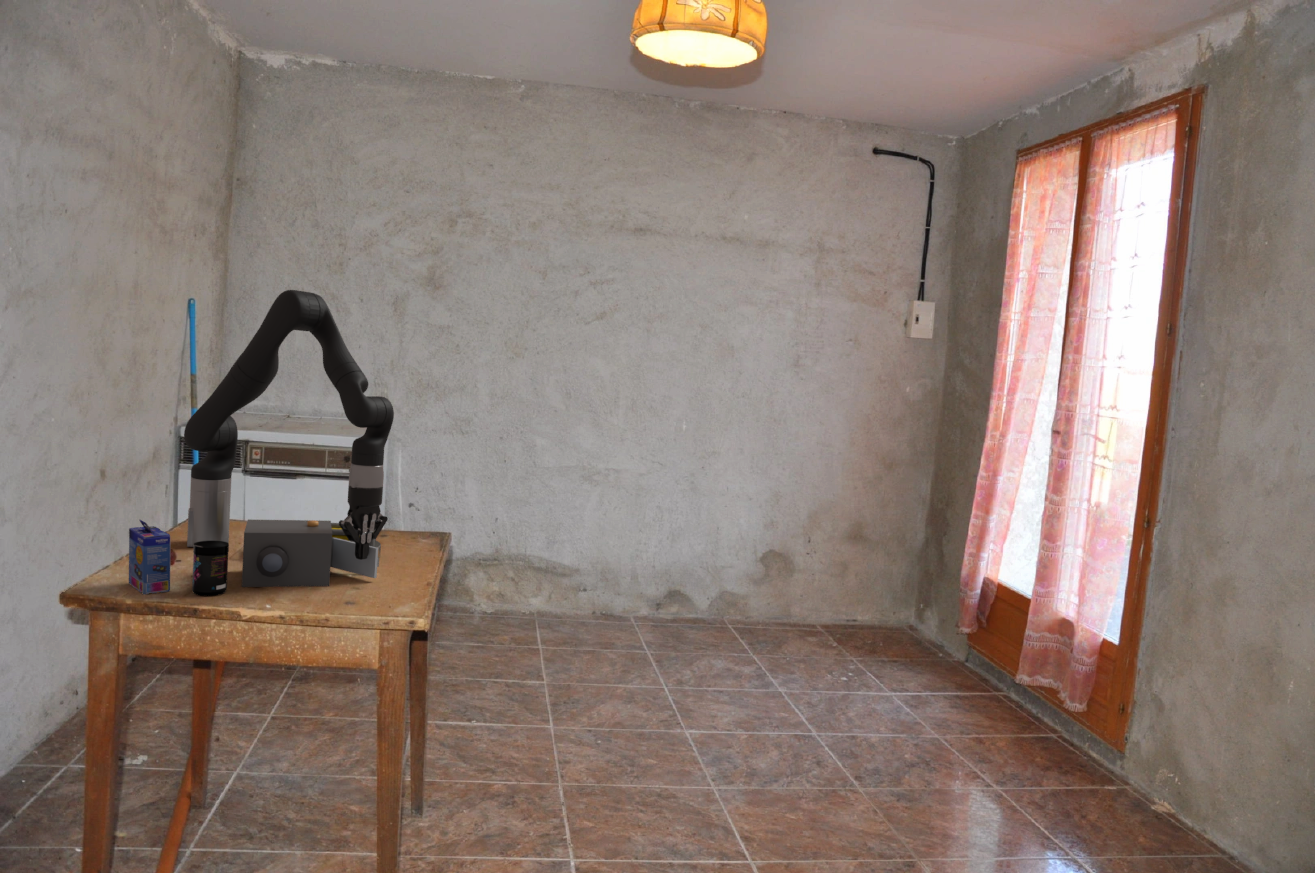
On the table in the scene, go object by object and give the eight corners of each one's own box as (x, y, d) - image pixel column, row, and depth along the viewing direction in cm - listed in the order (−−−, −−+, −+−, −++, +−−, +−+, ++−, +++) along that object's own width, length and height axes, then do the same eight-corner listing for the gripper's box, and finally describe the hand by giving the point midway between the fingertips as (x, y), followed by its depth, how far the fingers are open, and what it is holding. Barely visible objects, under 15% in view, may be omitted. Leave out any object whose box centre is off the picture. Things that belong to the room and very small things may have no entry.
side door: (374, 578, 217) (375, 548, 216) (329, 566, 224) (330, 537, 223) (378, 577, 218) (380, 547, 217) (333, 565, 225) (335, 536, 224)
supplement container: (207, 586, 203) (209, 538, 202) (234, 591, 201) (236, 543, 200) (184, 593, 196) (186, 544, 195) (211, 598, 195) (213, 549, 194)
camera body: (240, 590, 202) (243, 530, 201) (245, 570, 218) (247, 515, 216) (329, 589, 208) (332, 531, 207) (327, 570, 224) (330, 516, 223)
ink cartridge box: (126, 584, 200) (128, 516, 198) (154, 580, 204) (156, 514, 202) (142, 595, 193) (144, 525, 191) (170, 591, 197) (173, 523, 195)
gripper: (376, 479, 222) (371, 551, 223) (331, 483, 210) (326, 559, 212) (399, 484, 218) (394, 557, 220) (355, 488, 207) (350, 566, 208)
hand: (361, 558), depth 216 cm, fingers closed
